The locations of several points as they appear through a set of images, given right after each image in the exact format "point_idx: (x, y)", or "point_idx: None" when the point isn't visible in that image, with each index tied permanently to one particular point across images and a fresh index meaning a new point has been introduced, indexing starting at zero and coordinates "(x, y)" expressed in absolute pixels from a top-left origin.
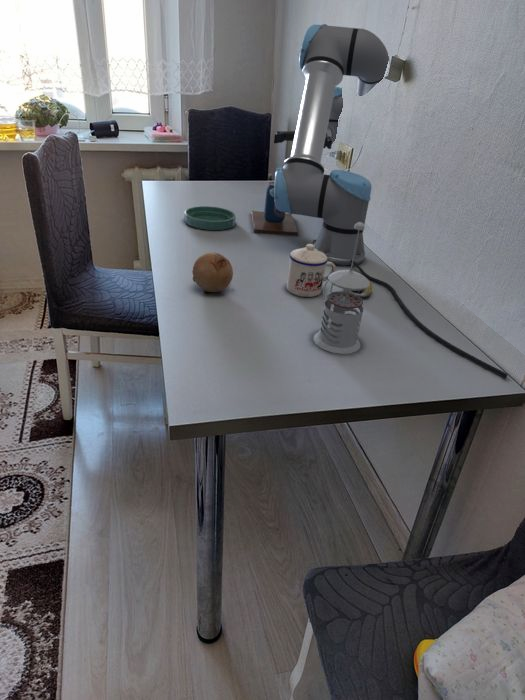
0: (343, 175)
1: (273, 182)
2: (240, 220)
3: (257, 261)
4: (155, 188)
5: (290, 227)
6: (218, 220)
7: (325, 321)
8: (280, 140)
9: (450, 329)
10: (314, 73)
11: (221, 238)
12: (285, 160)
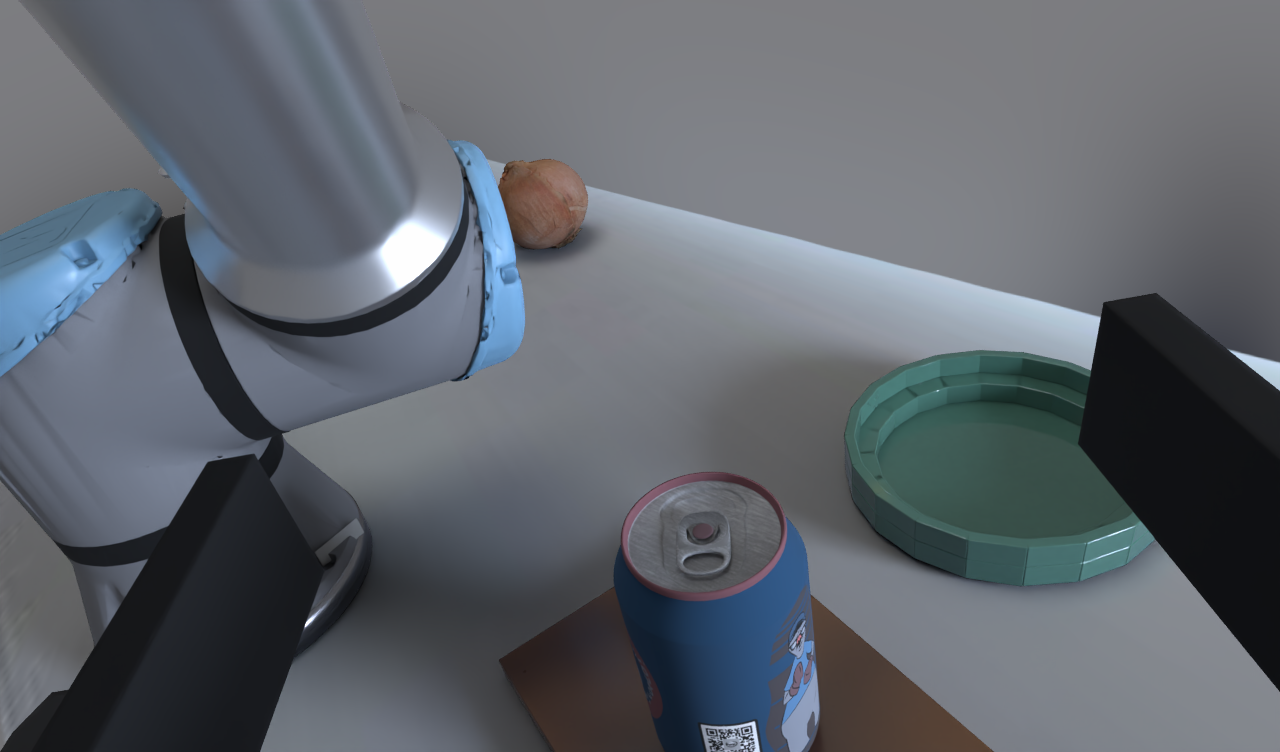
0: (78, 209)
1: (775, 553)
2: (948, 630)
3: (536, 367)
4: None
5: (574, 698)
6: (997, 515)
7: None
8: (1231, 585)
9: None
10: None
11: (774, 399)
12: (427, 120)
